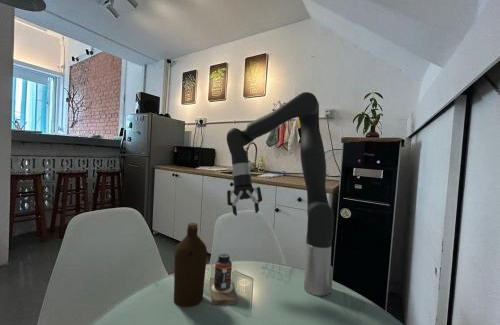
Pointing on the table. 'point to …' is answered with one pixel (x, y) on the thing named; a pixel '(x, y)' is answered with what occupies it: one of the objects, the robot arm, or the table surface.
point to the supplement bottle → (223, 272)
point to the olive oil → (189, 269)
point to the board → (222, 295)
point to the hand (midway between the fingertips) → (246, 214)
